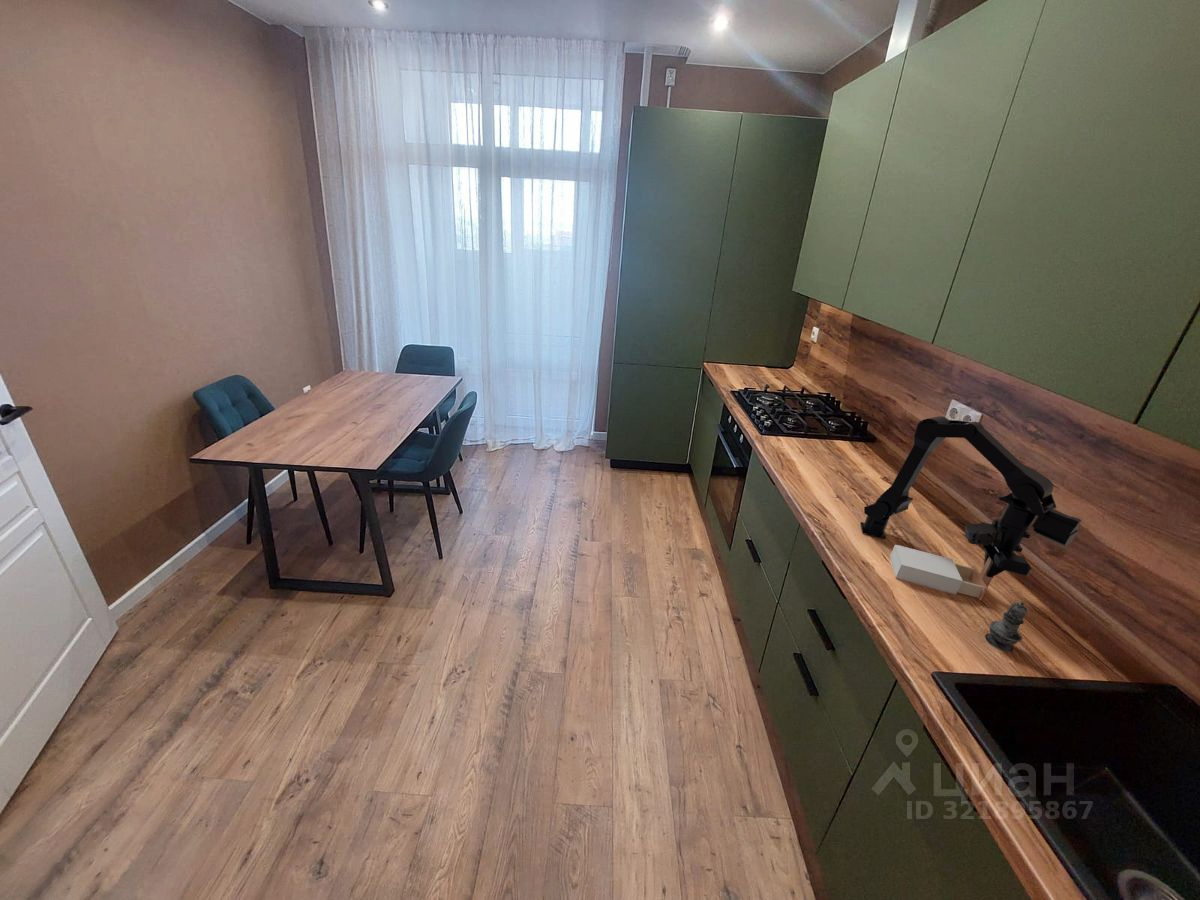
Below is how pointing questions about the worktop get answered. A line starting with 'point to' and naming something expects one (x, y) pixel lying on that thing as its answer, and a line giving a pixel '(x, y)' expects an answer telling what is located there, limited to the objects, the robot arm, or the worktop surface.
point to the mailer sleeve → (925, 569)
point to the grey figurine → (1007, 628)
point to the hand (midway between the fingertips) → (987, 573)
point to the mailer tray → (974, 580)
